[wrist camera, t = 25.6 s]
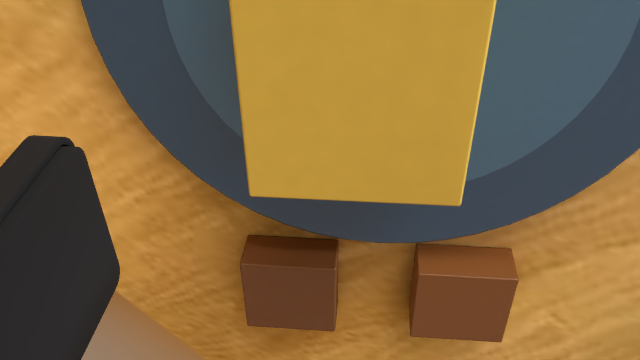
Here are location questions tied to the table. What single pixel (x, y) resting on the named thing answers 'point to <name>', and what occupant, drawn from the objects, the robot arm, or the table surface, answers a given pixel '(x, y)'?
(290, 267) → the block
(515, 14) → the side plate
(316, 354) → the table surface
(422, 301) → the block
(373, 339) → the table surface
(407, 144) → the scrub sponge
